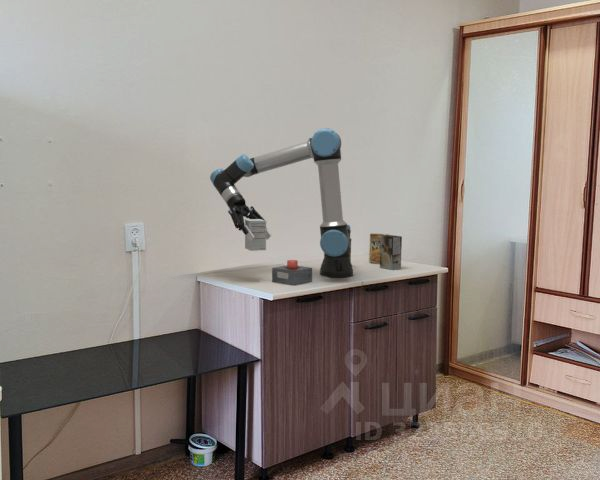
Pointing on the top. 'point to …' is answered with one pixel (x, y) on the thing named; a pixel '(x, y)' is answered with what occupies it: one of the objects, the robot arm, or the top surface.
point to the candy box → (375, 247)
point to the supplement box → (256, 234)
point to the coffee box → (390, 251)
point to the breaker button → (292, 264)
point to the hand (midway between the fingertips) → (260, 238)
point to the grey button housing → (292, 275)
